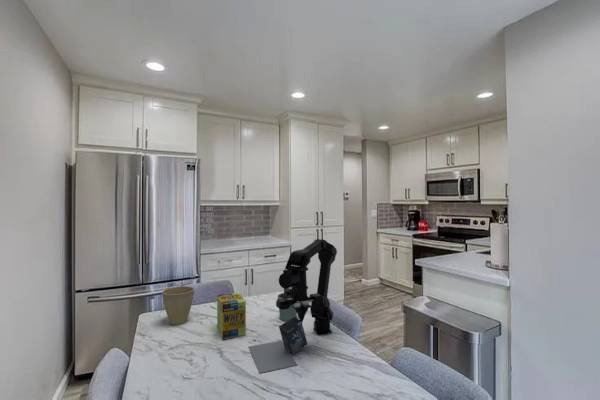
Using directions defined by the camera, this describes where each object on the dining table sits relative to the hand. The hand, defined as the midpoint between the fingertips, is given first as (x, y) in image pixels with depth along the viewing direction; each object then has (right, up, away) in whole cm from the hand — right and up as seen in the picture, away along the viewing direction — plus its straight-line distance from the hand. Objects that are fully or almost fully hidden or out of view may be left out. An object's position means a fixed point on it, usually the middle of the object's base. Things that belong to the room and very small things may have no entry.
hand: (301, 323), depth 115 cm
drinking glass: (-7, -12, +32) cm, 35 cm away
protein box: (-32, -12, +18) cm, 39 cm away
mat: (-11, -11, -4) cm, 16 cm away
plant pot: (-61, -12, +30) cm, 69 cm away
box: (-2, -10, 0) cm, 10 cm away
